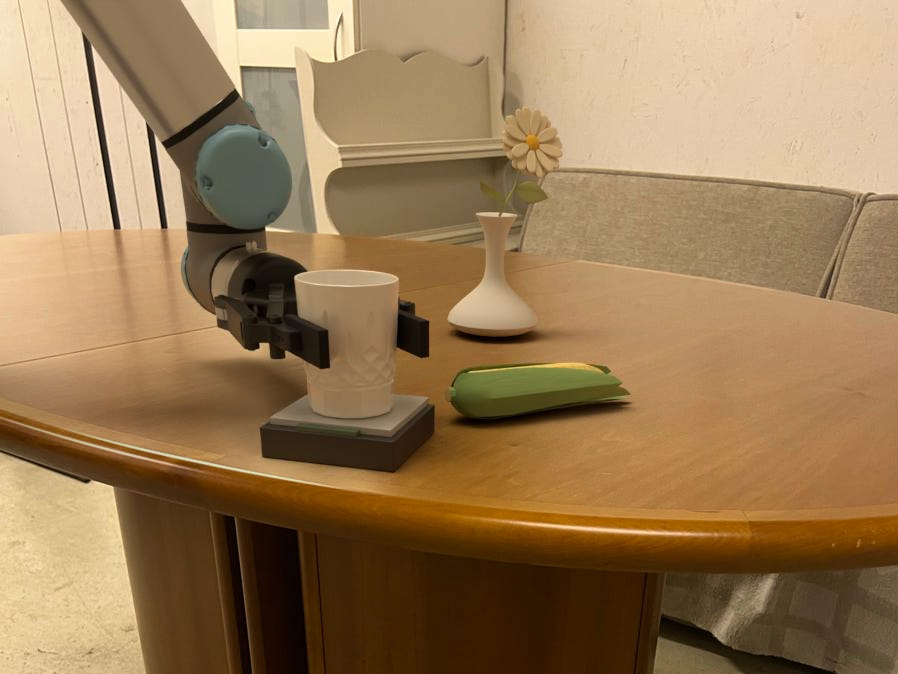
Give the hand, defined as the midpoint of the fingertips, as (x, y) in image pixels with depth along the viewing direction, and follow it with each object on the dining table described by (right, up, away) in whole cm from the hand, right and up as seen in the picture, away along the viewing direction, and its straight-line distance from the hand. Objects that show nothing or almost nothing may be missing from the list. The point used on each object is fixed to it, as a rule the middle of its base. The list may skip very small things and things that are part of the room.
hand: (375, 344), depth 69 cm
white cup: (-3, -3, +7) cm, 8 cm away
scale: (-3, -6, +8) cm, 10 cm away
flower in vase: (+10, +17, +48) cm, 52 cm away
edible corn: (+14, -1, +18) cm, 23 cm away
